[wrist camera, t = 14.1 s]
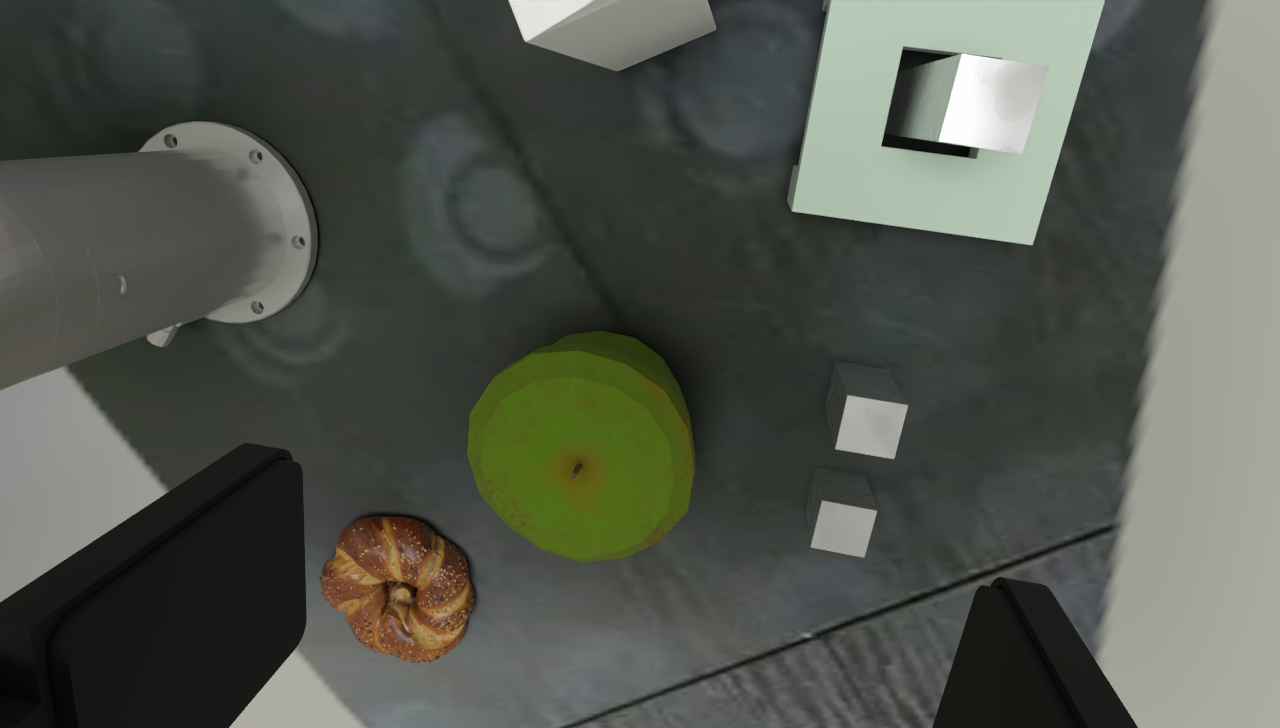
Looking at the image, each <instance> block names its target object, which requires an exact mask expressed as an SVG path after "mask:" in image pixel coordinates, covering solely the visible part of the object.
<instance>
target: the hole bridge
mask: <svg viewBox="0 0 1280 728" xmlns="http://www.w3.org/2000/svg"><path fill="white" fill-rule="evenodd" d="M1104 2H1105V0H824V2H823V7H822V11H824V12H827V13H826V18H825V24H824V29H823V34H822V40H821V45H820V50H819V56H818V61H817V67H816V72H815V77H814V83H813V88H812V93H811V99H810V104H809V110H808V115H807V120H806V126H805V131H804V136H803V142H802V147H801V152H800V158H799V163H798V166H796V165H793V170H792V176H791V181H790V187H789V192H788V197H787V202H788V204H789V206H790V209H791V211H793V212H800V213H807V214H814V215H821V216H828V217H835V218H842V219H849V220H857V221H864V222H871V223H878V224H885V225H892V226H899V227H906V228H913V229H920V230H928V231H935V232H942V233H949V234H956V235H963V236H970V237H977V238H984V239H992V240H999V241H1006V242H1013V243H1020V244H1027V245H1033V242H1034V239H1035V235H1036V232H1037V228H1038V225H1039V222H1040V218H1041V215H1042V211H1043V208H1044V205H1045V201H1046V198H1047V195H1048V191H1049V188H1050V184H1051V181H1052V178H1053V174H1054V171H1055V167H1056V164H1057V161H1058V157H1059V154H1060V151H1061V147H1062V144H1063V140H1064V137H1065V134H1066V130H1067V127H1068V123H1069V120H1070V117H1071V113H1072V110H1073V106H1074V103H1075V100H1076V96H1077V93H1078V90H1079V86H1080V83H1081V79H1082V76H1083V73H1084V69H1085V66H1086V62H1087V59H1088V56H1089V52H1090V49H1091V46H1092V42H1093V39H1094V35H1095V32H1096V29H1097V25H1098V22H1099V18H1100V15H1101V12H1102V8H1103V5H1104ZM902 49H903V50H912V51H920V52H928V53H936V54H945V55H953V56H956V55H959V54H968V55H975V56H981V57H988V58H995V59H1002V60H1008V61H1015V62H1022V63H1029V64H1035V65H1042V66H1049V69H1048V72H1047V75H1046V79H1045V82H1044V85H1043V88H1042V92H1041V95H1040V98H1039V102H1038V105H1037V108H1036V111H1035V115H1034V118H1033V121H1032V124H1031V128H1030V131H1029V134H1028V138H1027V141H1026V144H1025V147H1024V151H1023V154H1015V153H1008V152H1001V151H995V150H988V149H981V148H974V147H971V148H970V152H969V156H968V157H960V156H953V155H945V154H938V153H930V152H923V151H915V150H907V149H900V148H892V147H885V146H881V145H882V140H883V136H884V131H885V126H886V122H887V117H888V113H889V108H890V104H891V99H892V95H893V90H894V85H895V81H896V76H897V72H898V67H899V63H900V58H901V54H902Z"/></svg>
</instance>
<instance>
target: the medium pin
mask: <svg viewBox="0 0 1280 728" xmlns="http://www.w3.org/2000/svg"><path fill="white" fill-rule="evenodd" d="M907 408H908V404H907V402H906V400H905V398H904V397H903V395H902V393H901V391H900V389H899V388H898V386H897V384H896V382H895V380H894V379H893V377H892V375H891V373H890V371H889V370H888V369H884V368H877V367H871V366H865V365H859V364H852V363H846V362H840V361H835V364H834V368H833V373H832V377H831V382H830V386H829V391H828V395H827V400H826V404H825V413H826V417H827V421H828V424H829V428H830V432H831V436H832V439H833V443H834V447H835V449H837V450H843V451H849V452H855V453H861V454H867V455H873V456H879V457H885V458H891V459H894V458H895V454H896V450H897V446H898V442H899V439H900V435H901V431H902V427H903V423H904V420H905V416H906V412H907Z"/></svg>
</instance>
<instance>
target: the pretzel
mask: <svg viewBox="0 0 1280 728" xmlns="http://www.w3.org/2000/svg"><path fill="white" fill-rule="evenodd" d="M336 548H337V550H336V555H335V557H334V558H332V559H329V560H327V561H326V562H325V564H324V566H323V569H322V571H321V577H320V580H321V591H322V595H323V596H324V597H325V600H326V601H327V602H328V603H329V604H330V605H331V606H333V607H334V608H336V609H337V610H339V611H342V612H343V611H344V612H346V613H348V614H347V615H348V616H347V617H346V621H347V623H348V624H349V626H350V627H351V630H352V632H353V634H354V635H355V637H356V638H357V640H358V641H359V642H360V643H361V644H362V645H364V646H365V647H367V648H369V649H372V650H374V651H375V652H380V653H387V654H390V655H392V656H395V657H397V658H401V659H403V660H405V661H408V662H413V663H414V662H415V663H419V662H420V663H425V662H431V661H433V660H436V659H439V658H440V657H442V656H444V655H446V654H447V653H448V652H449V651H451V650H452V649H454V648H455V646H456V645H457V644H458V643H459V641H460V639H461V638H462V637H463V635H464V631H465V628H466V626H467V619H468V617H469V615H470V613H472V609H473V605H474V591H473V585H472V584H471V583H470V580H469V578H468V577H469V575H468V566H467V562H466V559H465V557H464V555H463V554H462V553H461V551H460V550H459V549H458V548H457V547H455V546H454V545H453V544H451V543H450V542H449V541H448V540H446V539H443V538H441V537H440V536H437V535H435V534H434V532H433V530H432V529H431V528H430V527H428V525H425V524H424V523H422V522H420V521H418V520H415V519H411V518H407V517H381V516H375V517H368V518H364V519H360V520H357V521H355V522H353V523H351V524H350V525H348V526H347V527H346V528H345V529H344V530H343V531H342V533H341V535H340V537H339V540H338V543H337V546H336Z"/></svg>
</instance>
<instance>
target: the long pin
mask: <svg viewBox="0 0 1280 728" xmlns="http://www.w3.org/2000/svg"><path fill="white" fill-rule="evenodd" d="M1048 69H1049V66H1042V65H1035V64H1029V63H1022V62H1015V61H1008V60H1002V59H995V58H988V57H981V56H975V55H968V54H959V55H956V56H952V57H948V58H945V59H941V60H938V61H934V62H931V63H927V64H924V65H920V66H917V67H913V68H909V69H906V70H902V71H899V72H897V76H896V81H895V85H894V90H893V95H892V99H891V104H890V108H889V113H888V117H887V122H886V126H885V131H884V134H888V135H895V136H901V137H907V138H914V139H920V140H927V141H933V142H939V143H946V144H953V145H960V146H967V147H974V148H981V149H988V150H995V151H1001V152H1008V153H1015V154H1023V151H1024V147H1025V144H1026V141H1027V138H1028V134H1029V131H1030V128H1031V124H1032V121H1033V118H1034V115H1035V111H1036V108H1037V105H1038V102H1039V98H1040V95H1041V92H1042V88H1043V85H1044V82H1045V79H1046V75H1047V72H1048Z"/></svg>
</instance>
